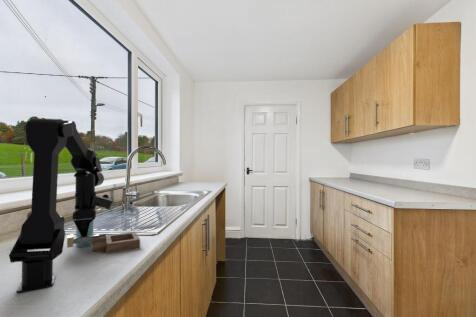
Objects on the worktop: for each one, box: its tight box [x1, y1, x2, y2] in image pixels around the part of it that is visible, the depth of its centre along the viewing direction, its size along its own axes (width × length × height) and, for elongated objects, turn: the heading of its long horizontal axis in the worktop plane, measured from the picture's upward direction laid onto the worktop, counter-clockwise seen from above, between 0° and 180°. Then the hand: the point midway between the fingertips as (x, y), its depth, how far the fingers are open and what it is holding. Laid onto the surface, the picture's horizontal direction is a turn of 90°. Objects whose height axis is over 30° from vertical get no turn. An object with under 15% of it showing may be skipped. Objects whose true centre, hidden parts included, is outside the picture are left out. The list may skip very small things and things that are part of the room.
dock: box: [91, 231, 141, 255], centre depth 84 cm, size 10×14×4 cm
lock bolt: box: [66, 233, 100, 248], centre depth 79 cm, size 3×8×3 cm, turn 120°
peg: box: [75, 220, 94, 248], centre depth 86 cm, size 5×5×9 cm
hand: (84, 234), depth 86 cm, fingers open, 9 cm apart
